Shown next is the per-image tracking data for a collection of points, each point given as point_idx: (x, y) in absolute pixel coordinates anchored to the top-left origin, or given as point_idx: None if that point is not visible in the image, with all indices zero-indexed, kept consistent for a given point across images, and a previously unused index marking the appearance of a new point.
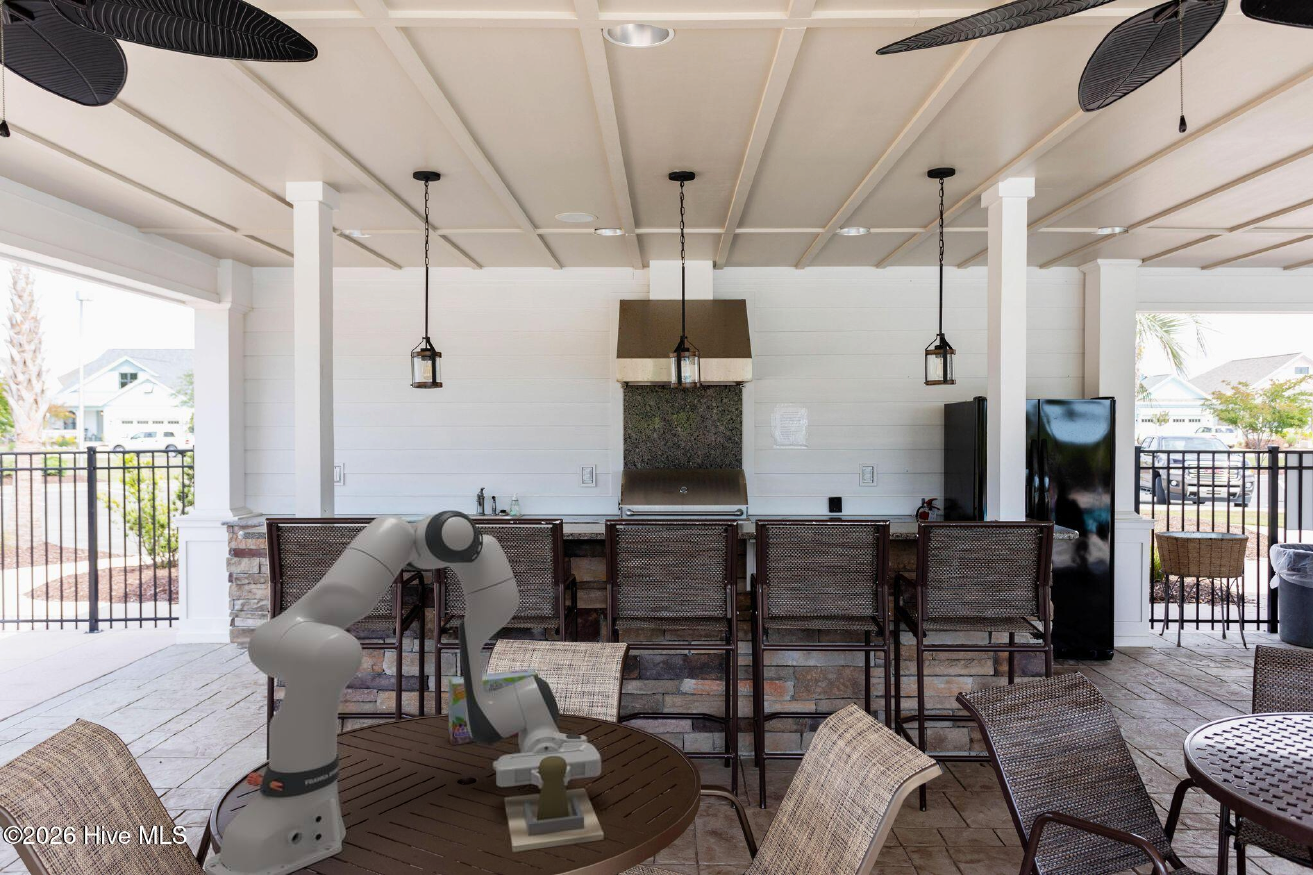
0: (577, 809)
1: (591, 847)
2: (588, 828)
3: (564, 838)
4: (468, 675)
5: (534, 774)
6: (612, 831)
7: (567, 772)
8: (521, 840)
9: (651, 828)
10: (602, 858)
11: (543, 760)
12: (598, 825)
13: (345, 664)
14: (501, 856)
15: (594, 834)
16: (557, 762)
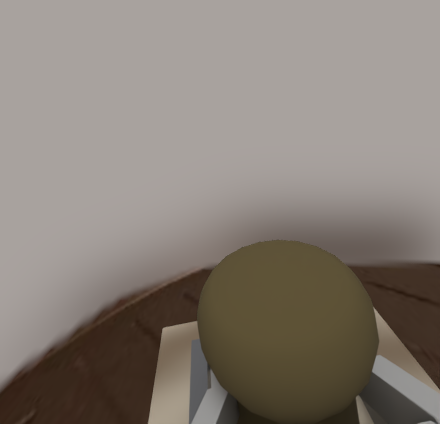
0: (201, 397)
1: (197, 308)
2: (188, 356)
3: None
4: None
5: (416, 379)
6: (134, 373)
7: (202, 406)
8: None
9: (48, 379)
10: (187, 278)
11: (335, 265)
12: (160, 370)
13: None
14: (374, 284)
15: (182, 326)
16: (244, 250)
